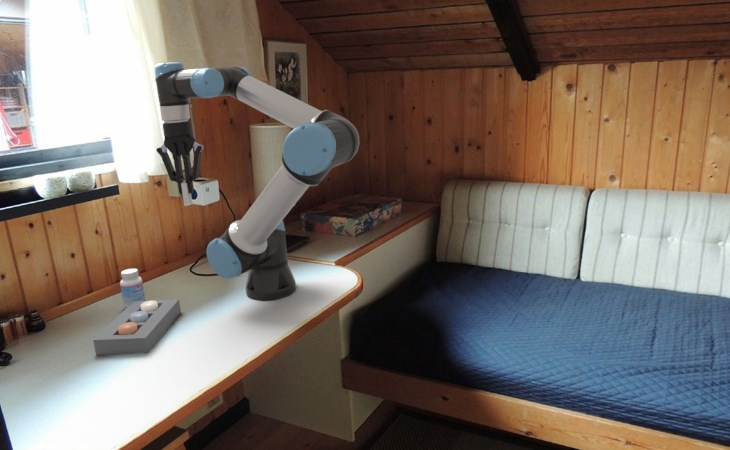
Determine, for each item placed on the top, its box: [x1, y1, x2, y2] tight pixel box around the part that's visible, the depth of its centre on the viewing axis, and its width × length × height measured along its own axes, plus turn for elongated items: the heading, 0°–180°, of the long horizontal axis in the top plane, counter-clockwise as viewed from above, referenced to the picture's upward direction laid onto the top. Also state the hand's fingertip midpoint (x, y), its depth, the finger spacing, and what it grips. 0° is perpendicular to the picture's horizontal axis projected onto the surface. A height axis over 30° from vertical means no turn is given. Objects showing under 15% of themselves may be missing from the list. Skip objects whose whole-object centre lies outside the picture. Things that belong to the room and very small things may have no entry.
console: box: [92, 298, 182, 356], centre depth 152 cm, size 13×24×4 cm, turn 178°
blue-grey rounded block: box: [130, 311, 148, 323], centre depth 152 cm, size 4×4×4 cm
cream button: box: [141, 300, 158, 311], centre depth 158 cm, size 4×4×4 cm
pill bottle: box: [119, 268, 147, 310], centre depth 168 cm, size 6×6×11 cm
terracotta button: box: [118, 322, 138, 335], centre depth 145 cm, size 4×4×4 cm
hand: (188, 204), depth 164 cm, fingers closed
